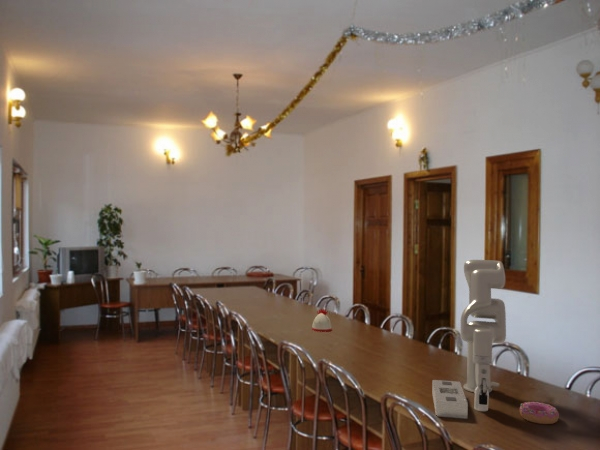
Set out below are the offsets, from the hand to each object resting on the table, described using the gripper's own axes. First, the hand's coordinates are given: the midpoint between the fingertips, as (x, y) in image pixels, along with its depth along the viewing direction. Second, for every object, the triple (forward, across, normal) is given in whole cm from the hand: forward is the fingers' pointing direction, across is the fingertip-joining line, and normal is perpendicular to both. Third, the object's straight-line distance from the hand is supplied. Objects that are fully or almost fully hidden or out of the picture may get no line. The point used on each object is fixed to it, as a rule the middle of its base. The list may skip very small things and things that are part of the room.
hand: (481, 400), depth 225 cm
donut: (+4, -6, -21) cm, 22 cm away
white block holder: (+3, +2, +13) cm, 14 cm away
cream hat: (+3, +147, +89) cm, 172 cm away
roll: (+4, 0, 0) cm, 4 cm away
